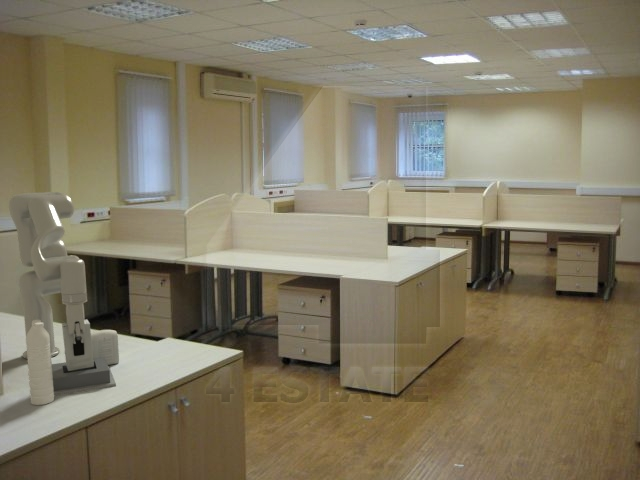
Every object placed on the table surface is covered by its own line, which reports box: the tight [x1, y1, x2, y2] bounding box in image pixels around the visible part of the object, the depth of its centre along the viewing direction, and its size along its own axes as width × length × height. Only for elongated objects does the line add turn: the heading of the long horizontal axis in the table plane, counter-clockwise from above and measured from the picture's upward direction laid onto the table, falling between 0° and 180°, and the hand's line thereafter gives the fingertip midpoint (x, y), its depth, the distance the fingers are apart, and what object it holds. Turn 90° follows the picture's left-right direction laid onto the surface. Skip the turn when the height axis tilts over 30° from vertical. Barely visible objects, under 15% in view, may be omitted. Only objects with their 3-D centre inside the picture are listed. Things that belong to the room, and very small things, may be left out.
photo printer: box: [91, 329, 120, 366], centre depth 228 cm, size 10×4×12 cm, turn 123°
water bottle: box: [25, 320, 55, 406], centre depth 193 cm, size 9×6×25 cm
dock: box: [51, 357, 117, 397], centre depth 211 cm, size 18×20×5 cm
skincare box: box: [61, 318, 94, 371], centre depth 210 cm, size 8×6×15 cm
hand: (78, 351), depth 210 cm, fingers closed on skincare box, 5 cm apart
